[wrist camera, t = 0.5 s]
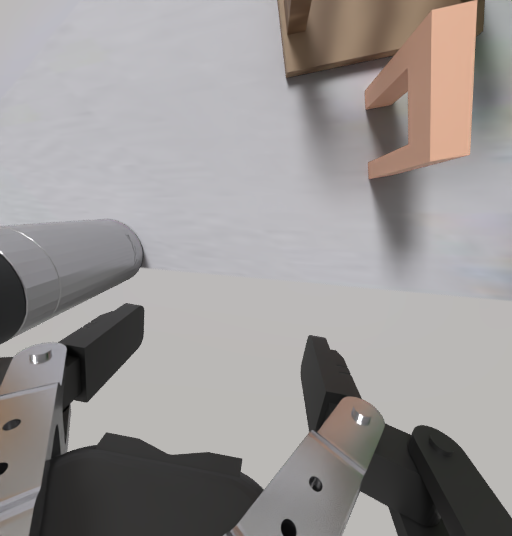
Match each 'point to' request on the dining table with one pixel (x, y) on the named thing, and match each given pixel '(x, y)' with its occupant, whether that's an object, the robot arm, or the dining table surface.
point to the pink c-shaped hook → (430, 90)
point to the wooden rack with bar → (351, 30)
